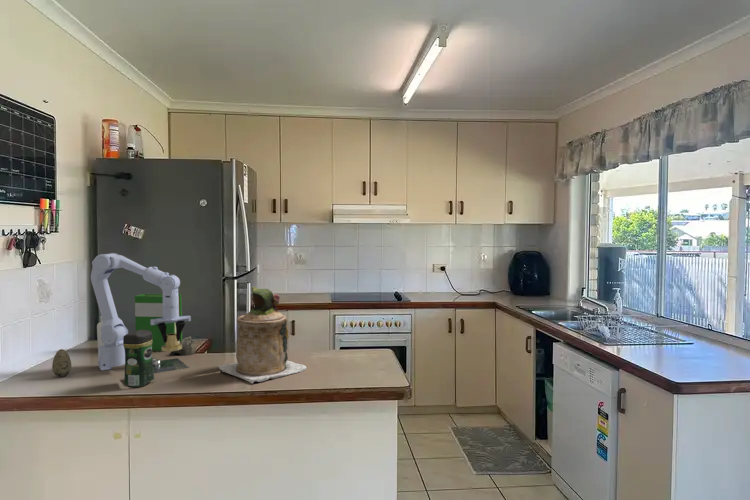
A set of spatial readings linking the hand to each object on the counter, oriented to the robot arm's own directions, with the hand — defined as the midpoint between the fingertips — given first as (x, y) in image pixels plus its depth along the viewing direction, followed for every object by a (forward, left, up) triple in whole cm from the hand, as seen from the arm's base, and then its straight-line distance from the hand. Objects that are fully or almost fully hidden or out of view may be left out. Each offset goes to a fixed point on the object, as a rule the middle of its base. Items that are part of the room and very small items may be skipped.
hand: (171, 341), depth 200 cm
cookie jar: (+26, -27, -10) cm, 39 cm away
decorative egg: (-36, +9, -10) cm, 39 cm away
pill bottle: (-16, +45, -10) cm, 49 cm away
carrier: (-3, -1, -10) cm, 11 cm away
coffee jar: (-15, -17, -10) cm, 24 cm away
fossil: (+9, +15, -10) cm, 20 cm away
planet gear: (0, 0, -3) cm, 3 cm away
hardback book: (+3, +33, -10) cm, 35 cm away
